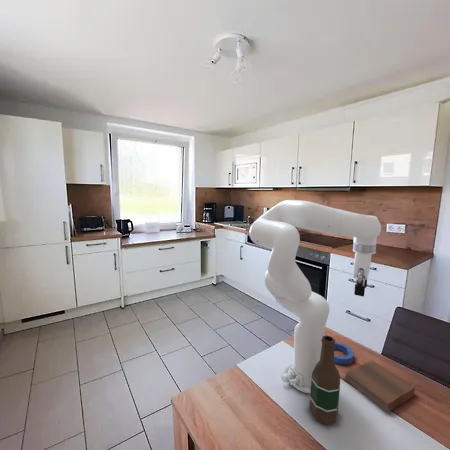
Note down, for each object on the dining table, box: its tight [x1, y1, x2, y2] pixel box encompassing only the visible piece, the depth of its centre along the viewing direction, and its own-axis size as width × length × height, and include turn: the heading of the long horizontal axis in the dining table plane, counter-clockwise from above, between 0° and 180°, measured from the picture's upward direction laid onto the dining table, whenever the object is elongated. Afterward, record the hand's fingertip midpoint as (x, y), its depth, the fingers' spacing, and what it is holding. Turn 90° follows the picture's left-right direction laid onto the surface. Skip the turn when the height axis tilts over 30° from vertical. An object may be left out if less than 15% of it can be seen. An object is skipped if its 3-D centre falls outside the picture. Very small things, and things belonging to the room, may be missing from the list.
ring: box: [334, 341, 354, 366], centre depth 97 cm, size 11×11×2 cm
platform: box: [345, 359, 416, 414], centre depth 81 cm, size 14×14×3 cm
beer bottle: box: [309, 335, 341, 426], centre depth 70 cm, size 8×8×24 cm
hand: (360, 291), depth 94 cm, fingers open, 9 cm apart
